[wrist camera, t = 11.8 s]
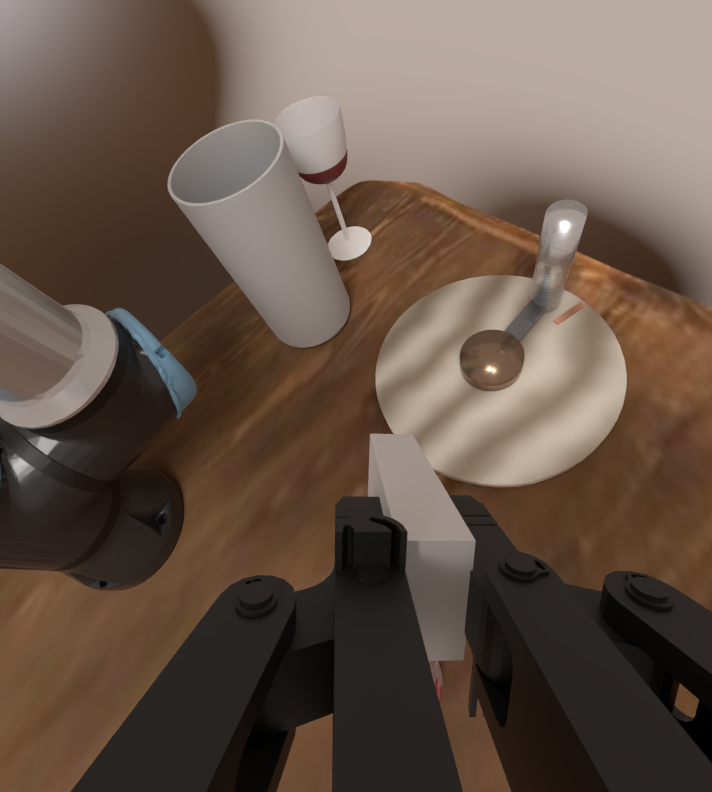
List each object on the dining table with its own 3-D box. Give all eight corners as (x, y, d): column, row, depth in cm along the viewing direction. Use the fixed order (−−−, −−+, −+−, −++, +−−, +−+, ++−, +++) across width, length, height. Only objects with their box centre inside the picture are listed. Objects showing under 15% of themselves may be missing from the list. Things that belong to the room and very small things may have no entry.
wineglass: (366, 263, 63) (326, 135, 45) (317, 260, 66) (262, 140, 48) (380, 225, 65) (348, 93, 48) (333, 224, 69) (286, 99, 51)
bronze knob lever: (498, 402, 45) (508, 337, 34) (448, 371, 48) (441, 303, 37) (580, 302, 48) (613, 212, 36) (526, 279, 51) (542, 190, 40)
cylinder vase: (351, 276, 62) (287, 106, 41) (351, 343, 57) (278, 187, 35) (277, 291, 65) (180, 138, 43) (270, 356, 59) (155, 218, 38)
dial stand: (336, 398, 53) (331, 391, 51) (463, 257, 58) (462, 245, 56) (528, 544, 40) (531, 541, 38) (670, 346, 45) (679, 334, 43)
